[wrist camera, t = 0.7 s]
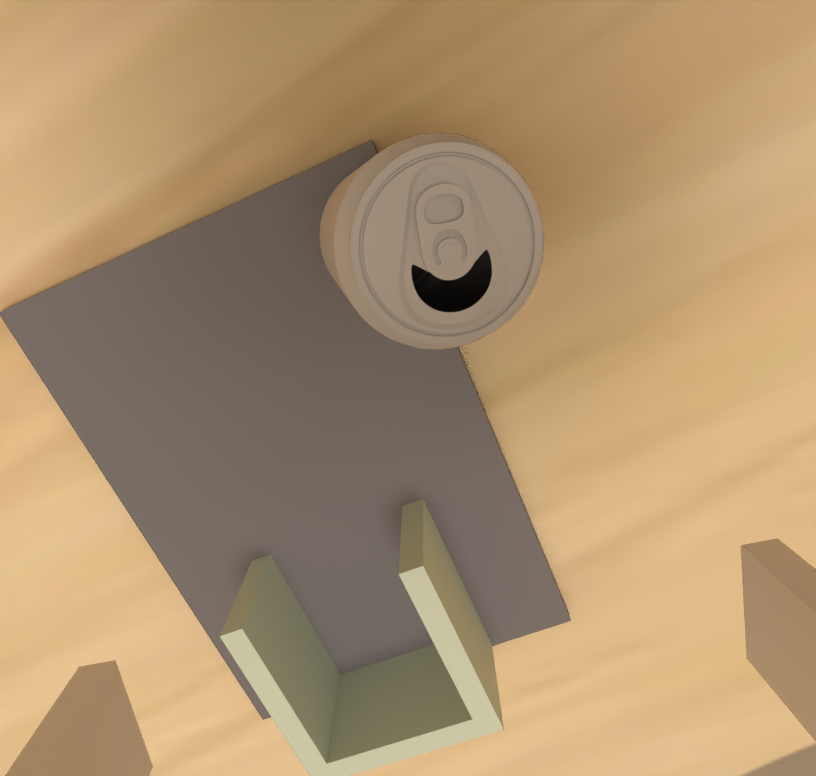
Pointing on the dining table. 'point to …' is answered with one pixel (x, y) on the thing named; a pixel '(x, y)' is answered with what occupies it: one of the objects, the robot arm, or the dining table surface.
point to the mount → (301, 477)
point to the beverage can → (434, 240)
